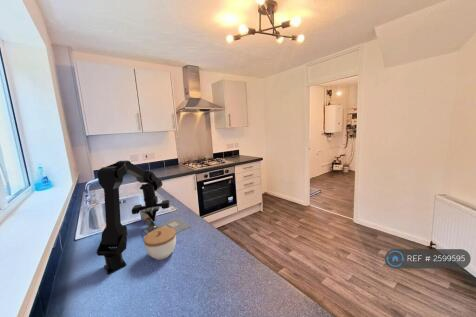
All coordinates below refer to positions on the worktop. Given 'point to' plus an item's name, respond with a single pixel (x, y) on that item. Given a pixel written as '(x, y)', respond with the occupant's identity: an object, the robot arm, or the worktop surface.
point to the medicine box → (144, 215)
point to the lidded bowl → (160, 242)
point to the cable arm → (150, 223)
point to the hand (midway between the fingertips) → (154, 221)
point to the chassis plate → (172, 225)
